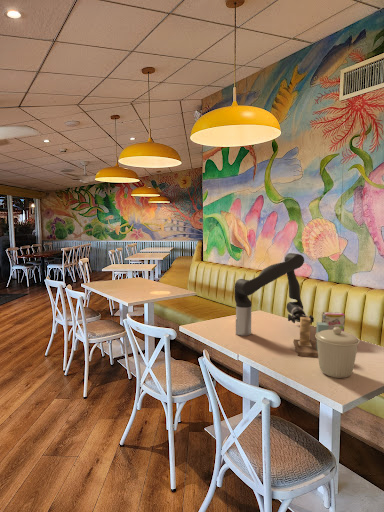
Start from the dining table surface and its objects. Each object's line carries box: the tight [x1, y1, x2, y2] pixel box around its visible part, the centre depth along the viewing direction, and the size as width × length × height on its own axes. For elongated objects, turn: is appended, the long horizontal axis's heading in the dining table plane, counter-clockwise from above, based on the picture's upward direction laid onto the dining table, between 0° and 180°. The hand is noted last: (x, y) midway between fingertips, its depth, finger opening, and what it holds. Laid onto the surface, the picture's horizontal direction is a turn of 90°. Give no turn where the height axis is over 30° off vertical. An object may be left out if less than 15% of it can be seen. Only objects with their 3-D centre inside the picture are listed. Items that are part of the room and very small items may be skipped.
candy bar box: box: [321, 311, 346, 331], centre depth 186 cm, size 11×5×16 cm, turn 84°
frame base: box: [292, 321, 328, 358], centre depth 174 cm, size 16×18×16 cm
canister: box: [314, 327, 361, 379], centre depth 147 cm, size 18×18×21 cm
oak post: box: [299, 317, 311, 345], centre depth 177 cm, size 4×4×14 cm
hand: (302, 321), depth 187 cm, fingers open, 8 cm apart
